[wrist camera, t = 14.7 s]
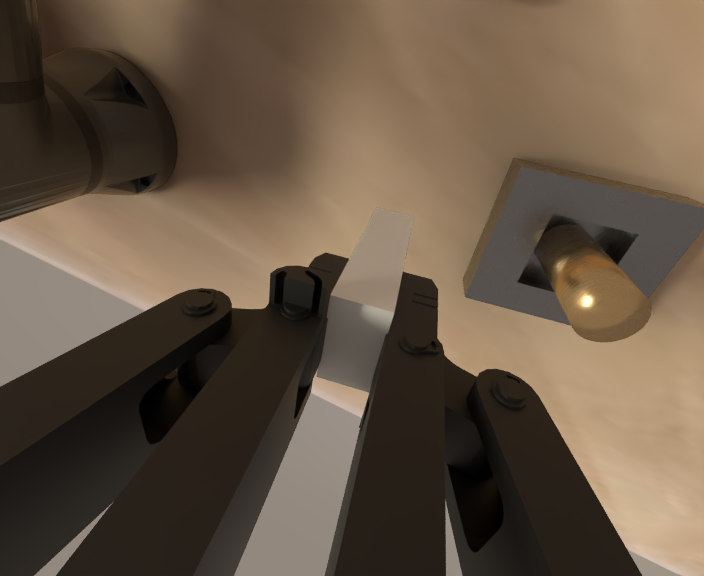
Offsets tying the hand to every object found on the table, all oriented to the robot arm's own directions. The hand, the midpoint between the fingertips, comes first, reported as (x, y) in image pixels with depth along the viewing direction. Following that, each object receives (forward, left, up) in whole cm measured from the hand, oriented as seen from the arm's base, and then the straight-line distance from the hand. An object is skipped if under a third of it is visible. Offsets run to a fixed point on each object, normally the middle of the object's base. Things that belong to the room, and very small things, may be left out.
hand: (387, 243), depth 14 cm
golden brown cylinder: (+17, -6, -23) cm, 29 cm away
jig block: (+17, -6, -24) cm, 30 cm away
